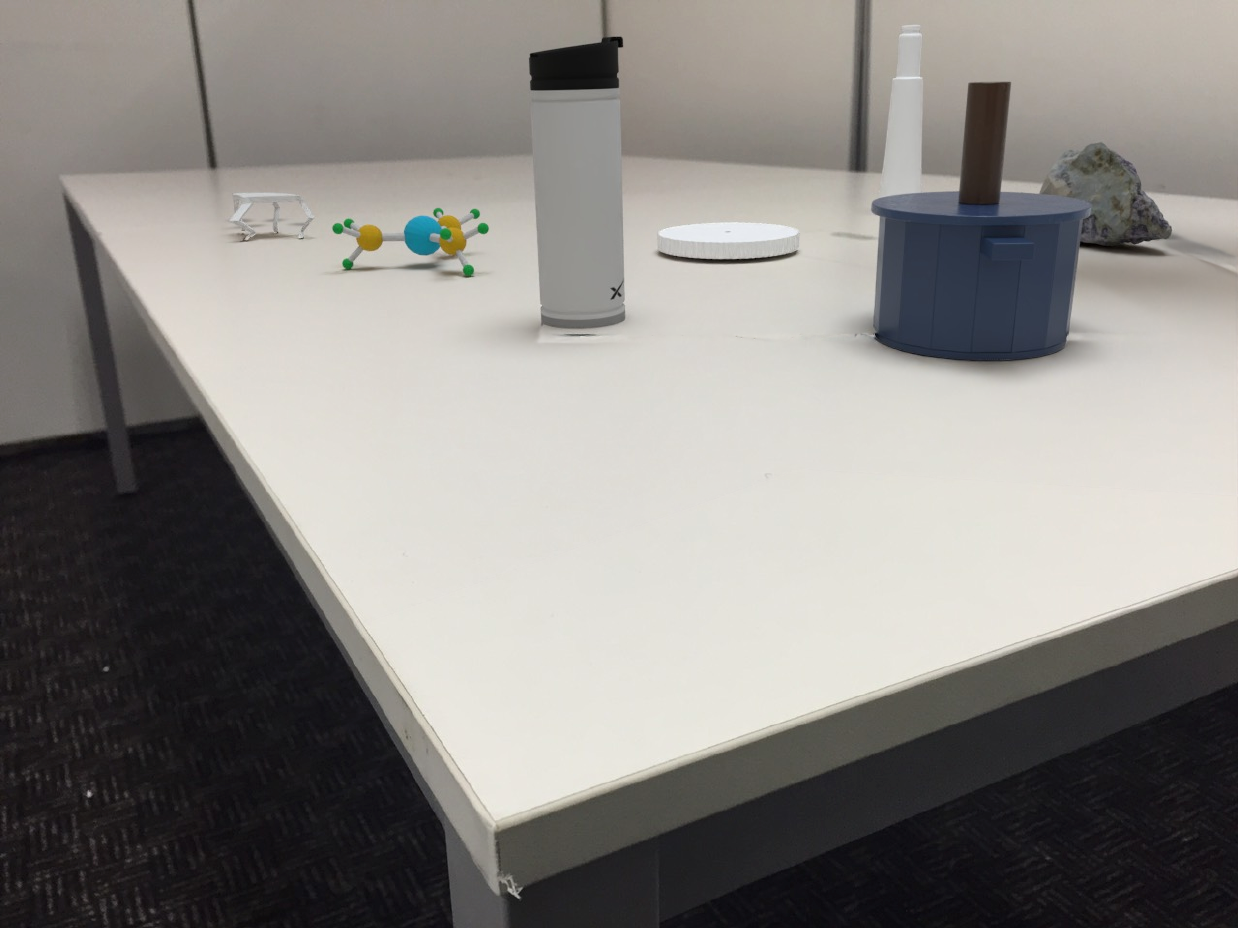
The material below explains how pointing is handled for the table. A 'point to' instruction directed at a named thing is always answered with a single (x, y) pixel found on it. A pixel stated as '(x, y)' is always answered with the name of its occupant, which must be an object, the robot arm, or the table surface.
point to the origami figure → (266, 197)
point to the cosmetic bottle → (905, 120)
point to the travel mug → (578, 184)
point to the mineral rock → (1107, 196)
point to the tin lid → (983, 178)
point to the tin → (975, 288)
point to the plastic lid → (728, 240)
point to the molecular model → (417, 236)
